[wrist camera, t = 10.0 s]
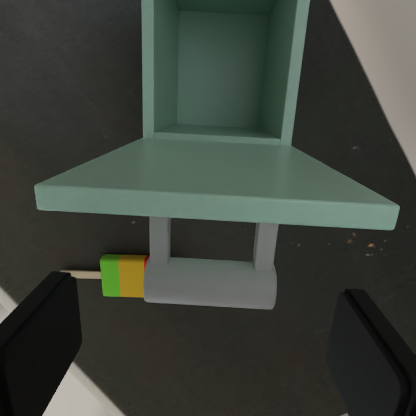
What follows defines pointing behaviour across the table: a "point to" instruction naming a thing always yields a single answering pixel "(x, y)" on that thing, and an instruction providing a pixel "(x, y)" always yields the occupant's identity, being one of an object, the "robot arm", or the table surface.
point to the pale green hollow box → (222, 69)
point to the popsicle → (118, 274)
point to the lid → (215, 208)
